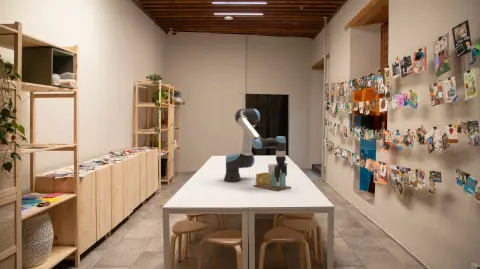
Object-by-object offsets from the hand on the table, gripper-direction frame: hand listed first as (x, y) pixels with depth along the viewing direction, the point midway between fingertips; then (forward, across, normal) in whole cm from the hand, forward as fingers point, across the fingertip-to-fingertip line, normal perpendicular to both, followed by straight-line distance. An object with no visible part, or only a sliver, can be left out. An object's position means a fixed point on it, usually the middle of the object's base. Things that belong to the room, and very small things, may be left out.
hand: (280, 185), depth 284 cm
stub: (+1, 0, +2) cm, 3 cm away
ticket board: (+3, 0, +9) cm, 9 cm away
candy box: (+3, +18, +19) cm, 26 cm away
